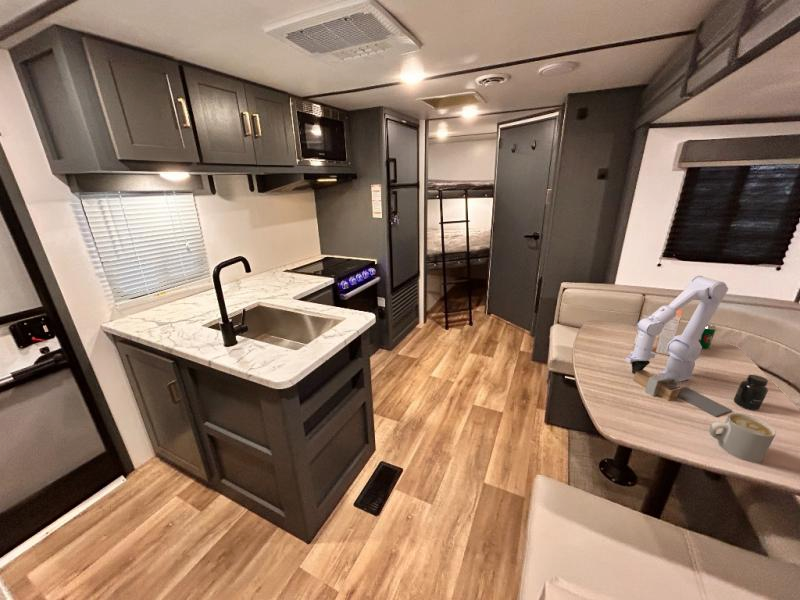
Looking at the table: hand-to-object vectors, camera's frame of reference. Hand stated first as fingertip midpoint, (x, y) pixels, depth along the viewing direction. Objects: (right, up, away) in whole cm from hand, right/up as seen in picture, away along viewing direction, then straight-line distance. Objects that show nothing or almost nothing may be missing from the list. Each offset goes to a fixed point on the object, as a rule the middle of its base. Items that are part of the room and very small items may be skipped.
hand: (635, 374), depth 135 cm
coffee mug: (+3, -15, -36) cm, 39 cm away
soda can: (+53, +8, +24) cm, 59 cm away
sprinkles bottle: (+18, +7, +23) cm, 30 cm away
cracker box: (+31, +7, +23) cm, 39 cm away
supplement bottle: (+28, -8, -18) cm, 34 cm away
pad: (+13, -7, -15) cm, 21 cm away
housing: (+3, -5, -9) cm, 11 cm away
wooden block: (+2, -4, -8) cm, 9 cm away
